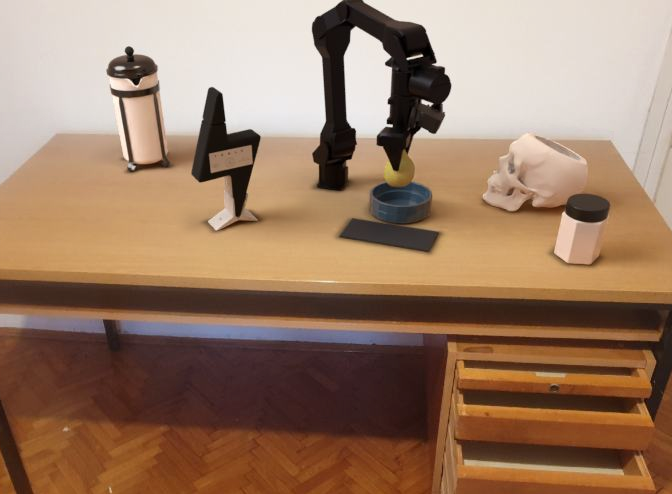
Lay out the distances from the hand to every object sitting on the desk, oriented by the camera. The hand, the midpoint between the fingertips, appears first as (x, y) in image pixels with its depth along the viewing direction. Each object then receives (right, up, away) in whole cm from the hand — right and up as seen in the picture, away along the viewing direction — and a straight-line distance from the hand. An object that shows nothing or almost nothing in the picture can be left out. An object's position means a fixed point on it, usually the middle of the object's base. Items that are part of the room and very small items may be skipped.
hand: (400, 164), depth 153 cm
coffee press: (-64, +11, +40) cm, 77 cm away
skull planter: (+33, -6, +13) cm, 36 cm away
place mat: (-2, -15, +2) cm, 15 cm away
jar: (+36, -21, -7) cm, 42 cm away
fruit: (0, -4, +3) cm, 5 cm away
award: (-38, -11, +9) cm, 40 cm away
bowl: (+2, -8, +11) cm, 14 cm away
